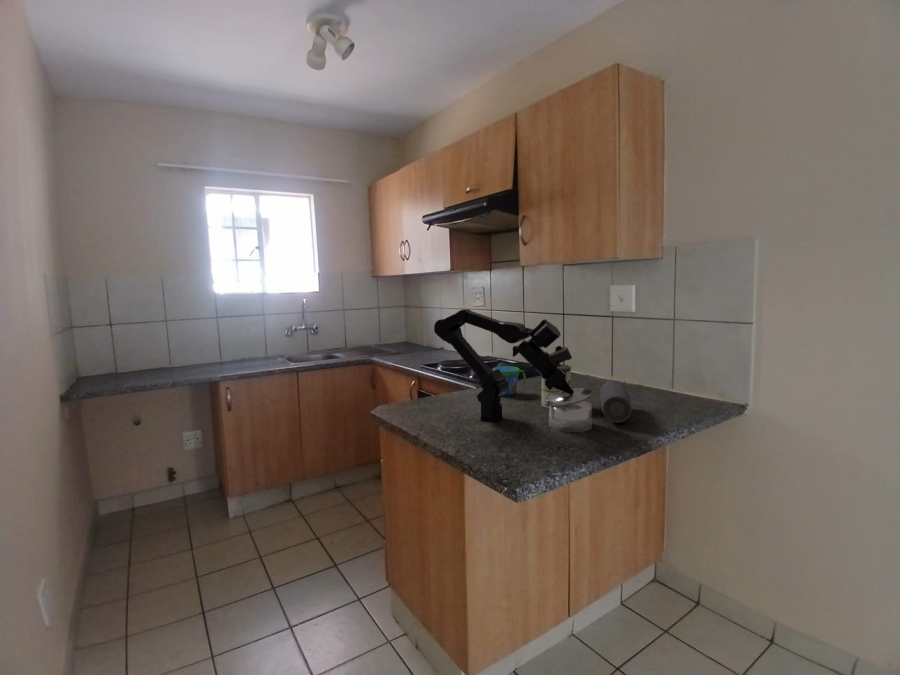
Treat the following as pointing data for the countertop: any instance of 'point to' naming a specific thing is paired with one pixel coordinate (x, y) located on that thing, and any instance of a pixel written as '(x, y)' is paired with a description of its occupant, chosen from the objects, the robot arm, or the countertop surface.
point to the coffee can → (547, 392)
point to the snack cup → (511, 377)
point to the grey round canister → (571, 417)
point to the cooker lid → (569, 397)
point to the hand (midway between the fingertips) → (572, 393)
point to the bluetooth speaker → (615, 401)
